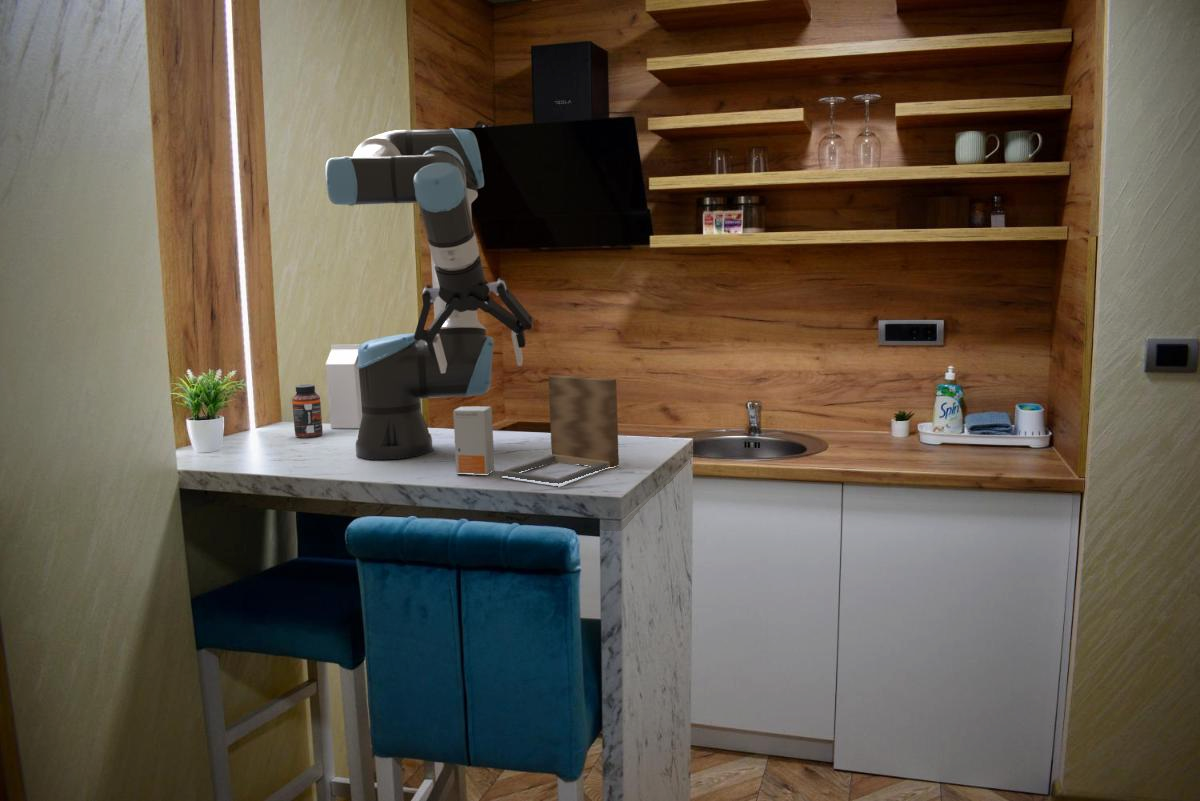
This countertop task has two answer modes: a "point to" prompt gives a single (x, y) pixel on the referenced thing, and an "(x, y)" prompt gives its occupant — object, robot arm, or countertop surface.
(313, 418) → the supplement bottle
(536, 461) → the grey rectangular frame
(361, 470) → the countertop surface
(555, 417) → the wall board
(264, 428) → the countertop surface
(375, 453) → the robot arm
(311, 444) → the countertop surface
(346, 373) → the milk carton
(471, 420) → the skincare box
